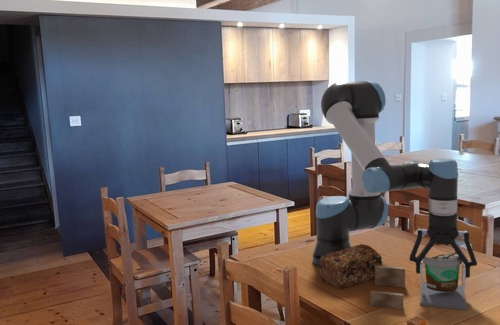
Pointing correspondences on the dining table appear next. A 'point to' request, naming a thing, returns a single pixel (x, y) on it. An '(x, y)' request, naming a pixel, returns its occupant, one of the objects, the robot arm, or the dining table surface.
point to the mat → (443, 298)
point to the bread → (349, 266)
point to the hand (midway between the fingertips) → (442, 285)
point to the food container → (442, 272)
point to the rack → (388, 278)
